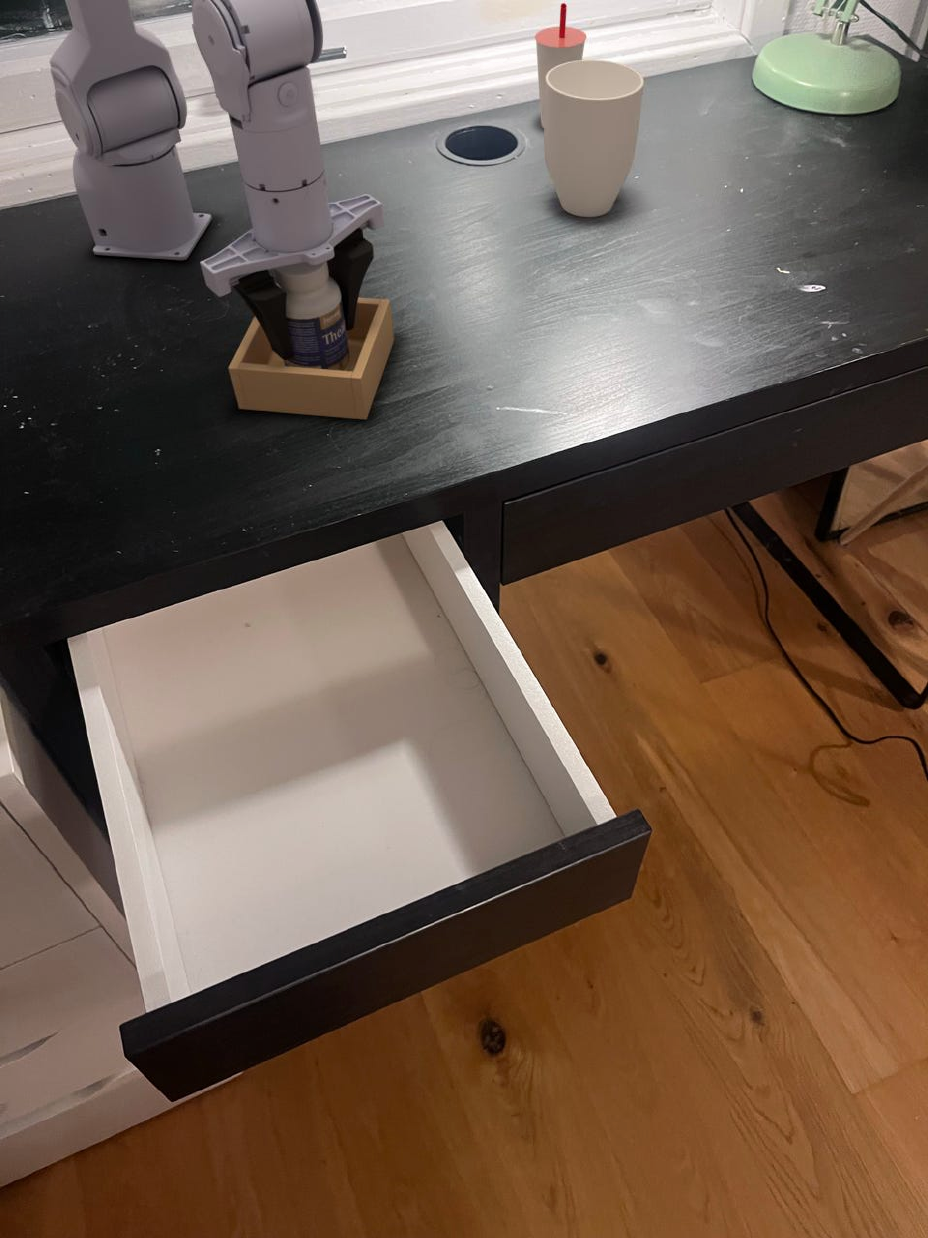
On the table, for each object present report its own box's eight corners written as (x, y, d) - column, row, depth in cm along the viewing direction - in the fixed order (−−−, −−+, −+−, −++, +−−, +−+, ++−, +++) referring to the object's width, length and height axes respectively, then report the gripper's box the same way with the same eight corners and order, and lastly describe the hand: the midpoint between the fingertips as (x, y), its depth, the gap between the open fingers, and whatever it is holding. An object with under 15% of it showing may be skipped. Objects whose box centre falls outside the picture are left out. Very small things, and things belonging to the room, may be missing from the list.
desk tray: (238, 408, 77) (227, 367, 74) (275, 331, 84) (267, 290, 80) (366, 419, 76) (360, 378, 73) (394, 340, 82) (390, 299, 79)
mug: (645, 218, 94) (661, 88, 84) (561, 235, 92) (568, 105, 83) (596, 164, 101) (606, 39, 91) (518, 180, 99) (520, 54, 90)
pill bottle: (341, 391, 77) (323, 283, 70) (278, 385, 78) (254, 277, 70) (359, 351, 81) (344, 244, 73) (298, 345, 81) (277, 238, 74)
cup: (578, 136, 105) (586, 13, 95) (529, 134, 105) (532, 12, 96) (582, 114, 108) (590, -7, 99) (535, 112, 109) (538, -8, 99)
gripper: (220, 230, 62) (261, 400, 72) (401, 158, 67) (414, 325, 78) (168, 190, 65) (215, 357, 76) (344, 124, 71) (364, 288, 81)
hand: (313, 338), depth 77 cm, fingers closed on pill bottle, 5 cm apart
